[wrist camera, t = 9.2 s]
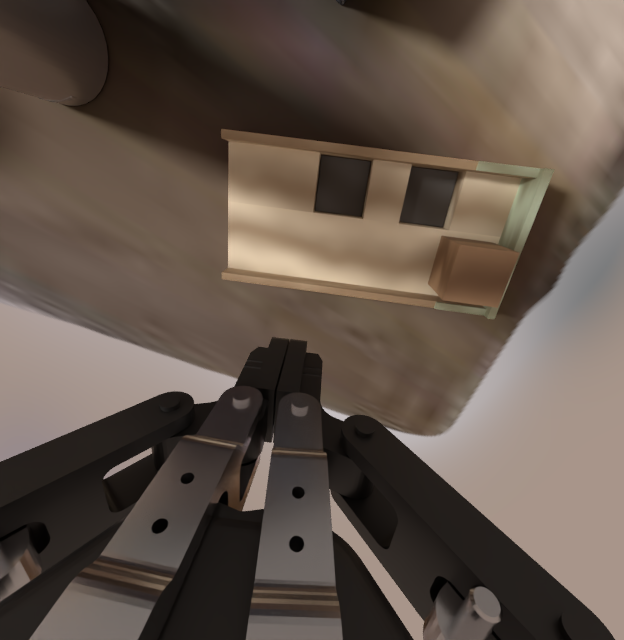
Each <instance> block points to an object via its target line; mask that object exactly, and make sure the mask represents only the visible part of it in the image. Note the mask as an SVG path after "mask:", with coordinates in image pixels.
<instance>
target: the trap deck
mask: <svg viewBox="0 0 624 640" xmlns="http://www.w3.org/2000/svg"><path fill="white" fill-rule="evenodd" d="M221 138H222V139H225V140H227V141H229V165H228V268H227V269H226V270H224V271H223V272H222V279H226V280H233V281H240V282H248V283H255V284H262V285H270V286H277V287H284V288H292V289H299V290H307V291H314V292H321V293H329V294H336V295H343V296H351V297H358V298H365V299H373V300H380V301H388V302H395V303H402V304H410V305H417V306H424V307H432V308H435V309H439V310H447V311H454V312H461V313H469V314H476V315H483V316H485V317H486V318H488V319H495V317H496V314H497V312H498V309H499V307H500V304H501V302H502V299H503V297H504V294H505V292H506V289H507V287H508V284H509V282H510V279H511V277H512V274H513V272H514V269H515V267H516V264H517V262H518V259H519V257H520V254H521V252H522V249H523V247H524V244H525V242H526V239H527V237H528V234H529V232H530V229H531V227H532V224H533V222H534V219H535V217H536V214H537V212H538V209H539V207H540V204H541V202H542V199H543V197H544V194H545V192H546V189H547V187H548V184H549V182H550V179H551V177H552V174H553V172H554V169H548V168H543V169H539V168H531V167H524V166H516V165H508V164H500V163H492V162H484V161H473V160H465V159H457V158H449V157H441V156H433V155H425V154H417V153H409V152H401V151H393V150H386V149H378V148H370V147H362V146H354V145H346V144H338V143H330V142H322V141H314V140H306V139H298V138H291V137H283V136H275V135H267V134H259V133H251V132H243V131H235V130H227V129H221ZM321 155H322V156H321ZM323 155H329V156H323ZM331 156H337V157H331ZM320 157H321V165H320ZM339 157H345V158H339ZM347 158H352V159H347ZM355 159H360V160H355ZM362 160H368V161H362ZM370 161H372V162H370ZM370 163H371V167H370ZM319 166H320V174H319ZM412 166H415V167H412ZM418 167H423V168H418ZM369 168H370V173H369ZM425 168H431V169H425ZM433 169H439V170H433ZM441 170H447V171H441ZM449 171H455V172H449ZM457 172H459V173H457ZM368 174H369V179H368ZM318 175H319V183H318ZM457 175H458V177H457ZM456 179H457V180H456ZM367 180H368V184H367ZM455 182H456V184H455ZM317 184H318V191H317ZM366 185H367V190H366ZM454 186H455V187H454ZM453 189H454V191H453ZM365 191H366V196H365ZM316 192H317V200H316ZM452 193H453V194H452ZM364 197H365V202H364ZM451 197H452V198H451ZM450 200H451V201H450ZM315 201H316V209H315ZM363 203H364V207H363ZM449 204H450V205H449ZM448 207H449V208H448ZM362 208H363V213H362ZM314 210H316V211H314ZM319 211H324V212H319ZM447 211H448V212H447ZM327 212H331V213H327ZM335 213H339V214H335ZM342 214H347V215H342ZM361 214H362V217H357V216H361ZM446 214H447V215H446ZM350 215H354V216H350ZM445 218H446V219H445ZM399 221H400V222H399ZM444 221H445V222H444ZM403 222H408V223H403ZM411 223H416V224H411ZM419 224H423V225H419ZM426 225H431V226H426ZM443 225H444V226H443ZM434 226H439V227H434ZM442 227H443V228H442ZM441 236H449V237H456V238H464V239H471V240H479V241H486V242H493V243H495V244H498V245H501V246H503V247H506V248H508V249H511V250H514V251H516V252H519V256H518V258H517V261H516V263H515V266H514V268H513V271H512V273H511V276H510V278H509V281H508V283H507V286H506V288H505V291H504V293H503V296H502V298H501V301H500V303H499V306H498V308H496V307H489V306H482V305H474V304H467V303H460V302H452V301H445V300H442V299H441V298H440V297H439V296H438V295H437V293H436V292H435V291H434V290H433V289H432V288H431V287H430V286H429V285H428V281H429V277H430V274H431V271H432V267H433V264H434V260H435V257H436V253H437V250H438V246H439V243H440V239H441Z"/></svg>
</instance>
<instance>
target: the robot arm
mask: <svg viewBox="0 0 624 640" xmlns="http://www.w3.org/2000/svg"><path fill="white" fill-rule="evenodd" d="M107 71H108V52H107V44H106V41H105V37H104V34H103V30H102V28H101V26H100V24H99V21H98V19H97V17H96V15H95V14H94V12H93V11H92V9H91V8H90V6H89V4H88V3H87V1H86V0H0V87H3V88H7V89H10V90H14V91H17V92H21V93H24V94H28V95H31V96H35V97H38V98H40V99H43V100H47V101H50V102H56V103H60V104H64V105H68V106H79V105H82V104H86V103H88V102H90V101H91V100H93V99H94V98H95V97H96V96H97V95H98V94H99V92H100V91H101V89H102V87H103V85H104V83H105V80H106V76H107ZM306 349H307V341H302V340H293V339H290V343H289V339H285V338H276V337H272V339H271V342H270V344H269V347H268V348H264V347H258V348H256V349H255V350H254V351H252V352H251V353H250V355H249V357H248V359H247V361H246V364H245V366H244V368H243V370H242V372H241V374H240V376H239V378H238V380H237V382H236V384H235V387H233V388H230V389H228V390H226V391H225V392H224V393H223V394H222V395H221V397H220V398H219V400H218V401H215V402H211V403H201V404H194V400H193V398H192V397H191V396H190V395H189V394H187V393H184V392H167V393H164V394H161V395H158V396H156V397H153V398H151V399H149V400H146V401H144V402H142V403H139V404H137V405H135V406H132V407H130V408H128V409H125V410H123V411H120V412H118V413H116V414H113V415H111V416H108V417H106V418H104V419H101V420H99V421H97V422H94V423H92V424H90V425H87V426H85V427H82V428H80V429H77V430H75V431H73V432H71V433H68V434H66V435H63V436H61V437H59V438H56V439H54V440H51V441H49V442H47V443H44V444H42V445H40V446H37V447H35V448H32V449H30V450H28V451H25V452H23V453H20V454H18V455H16V456H13V457H11V458H9V459H6V460H4V461H1V462H0V640H413V638H412V636H411V635H410V633H409V632H408V630H407V629H406V628H405V626H404V624H403V623H402V621H401V620H400V618H399V617H398V615H397V614H396V612H395V611H394V609H393V608H392V606H391V604H390V603H389V601H388V600H387V598H386V597H385V595H384V594H383V593H382V591H381V589H380V588H379V586H378V585H377V583H376V582H375V580H374V579H373V577H372V576H371V574H370V572H369V571H368V569H367V568H366V566H365V565H364V563H363V562H362V560H361V559H360V558H359V556H358V555H357V554H356V552H355V551H354V550H353V549H352V548H351V547H350V545H349V544H348V543H347V542H345V541H344V540H343V539H342V538H341V537H340V536H338V535H337V534H336V533H334V532H333V531H332V524H331V509H330V494H329V489H330V490H331V494H332V497H333V499H334V501H335V502H336V503H337V505H338V506H339V507H340V509H341V510H342V511H343V513H344V514H345V515H346V517H347V518H348V520H349V521H350V522H351V523H352V525H353V526H354V528H355V529H356V530H357V532H358V533H359V534H360V536H361V537H362V538H363V540H364V541H365V542H366V544H367V545H368V546H369V548H370V549H371V550H372V552H373V553H374V554H375V556H376V557H377V559H378V560H379V561H380V563H381V564H382V565H383V567H384V568H385V569H386V571H387V572H388V573H389V575H390V576H391V577H392V579H393V580H394V581H395V583H396V584H397V585H398V587H399V588H400V589H401V591H402V592H403V594H404V595H405V596H406V598H407V599H408V600H409V602H410V603H411V604H412V606H413V607H414V608H415V610H416V611H417V612H418V614H419V615H420V616H421V618H422V619H423V620H424V625H423V640H615V639H614V638H613V636H612V634H611V633H610V632H609V630H608V629H607V628H606V626H605V625H604V624H603V623H602V622H601V621H600V619H599V618H598V617H597V616H596V615H595V614H594V613H592V611H591V610H589V609H588V608H587V607H586V606H585V605H584V604H583V603H582V602H580V601H579V600H578V599H577V598H576V597H575V596H574V595H573V594H572V593H570V592H569V591H568V590H567V589H566V588H565V587H564V586H562V585H561V584H560V583H559V582H558V581H557V580H556V579H555V578H554V577H552V576H551V575H550V574H549V573H548V572H547V571H546V570H545V569H543V568H542V567H541V566H540V565H539V564H538V563H537V562H536V561H534V560H533V559H532V558H531V557H530V556H529V555H528V554H527V553H526V552H524V551H523V550H522V549H521V548H520V547H519V546H518V545H517V544H515V543H514V542H513V541H512V540H511V539H510V538H509V537H508V536H506V535H505V534H504V533H503V532H502V531H501V530H500V529H498V528H497V527H496V526H495V525H494V524H493V523H492V522H491V521H490V520H488V519H487V518H486V517H485V516H484V515H483V514H482V513H481V512H479V511H478V510H477V509H476V508H475V507H474V506H473V505H472V504H471V503H469V502H468V501H467V500H466V499H465V498H464V497H463V496H461V495H460V494H459V493H458V492H457V491H456V490H455V489H454V488H453V487H451V486H450V485H449V484H448V483H447V482H446V481H445V480H444V479H442V478H441V477H440V476H439V475H438V474H437V473H436V472H434V471H433V470H432V469H431V468H430V467H429V466H428V465H427V464H426V463H425V462H423V461H422V460H421V459H420V458H419V457H418V456H417V455H416V454H414V453H413V452H412V451H411V450H410V449H409V448H408V447H406V446H405V445H404V444H403V443H402V442H401V441H400V440H399V439H397V438H396V437H395V436H394V435H393V434H392V433H391V432H390V431H388V430H387V429H386V428H385V427H384V426H383V425H382V424H381V423H380V422H378V421H377V420H375V419H373V418H371V417H369V416H365V415H353V416H350V417H348V418H347V419H345V421H341V420H339V419H336V418H334V417H332V416H330V415H329V414H328V413H326V412H325V411H324V409H323V408H322V406H321V403H320V394H321V378H322V377H321V376H322V360H321V358H320V356H319V355H318V354H314V353H306ZM273 433H274V440H273V443H274V446H273V449H272V454H271V462H270V469H269V476H268V484H267V492H266V499H265V507H264V509H261V510H253V511H242V510H243V507H244V504H245V501H246V498H247V495H248V493H249V490H250V487H251V484H252V481H253V478H254V476H255V473H256V470H257V467H258V465H259V461H260V453H261V451H262V448H263V445H264V442H272V438H273ZM149 448H152V454H150V455H149V456H147V457H145V458H143V459H141V460H139V461H138V462H136V463H134V464H132V465H130V466H128V467H127V468H125V469H123V470H121V471H119V472H117V473H115V474H114V475H112V476H110V477H108V478H106V479H103V478H104V476H105V475H106V473H107V472H108V471H109V470H110V469H112V468H113V467H115V466H117V465H119V464H120V463H122V462H124V461H126V460H128V459H130V458H132V457H134V456H136V455H138V454H140V453H141V452H143V451H145V450H147V449H149Z"/></svg>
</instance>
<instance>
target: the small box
mask: <svg viewBox="0 0 624 640" xmlns="http://www.w3.org/2000/svg"><path fill="white" fill-rule="evenodd" d="M336 1H337V2H338V3H340V4H341V5H342V4H344V3H345V2H346V0H336Z"/></svg>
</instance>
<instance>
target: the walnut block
mask: <svg viewBox="0 0 624 640" xmlns="http://www.w3.org/2000/svg"><path fill="white" fill-rule="evenodd" d="M518 256H519V252H516V251H514V250H511V249H508V248H506V247H503V246H501V245H498V244H495V243H493V242H486V241H479V240H471V239H464V238H456V237H449V236H441V239H440V243H439V246H438V250H437V253H436V257H435V260H434V264H433V267H432V271H431V274H430V277H429V281H428V285H429V286H430V287H431V288H432V289H433V290H434V291H435V292H436V293H437V295H438V296H439V297H440V298H441V299H442V300H445V301H452V302H460V303H467V304H474V305H482V306H489V307H496V308H498V306H499V303H500V301H501V298H502V296H503V293H504V291H505V288H506V286H507V283H508V281H509V278H510V276H511V273H512V271H513V268H514V266H515V263H516V261H517V258H518Z"/></svg>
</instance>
